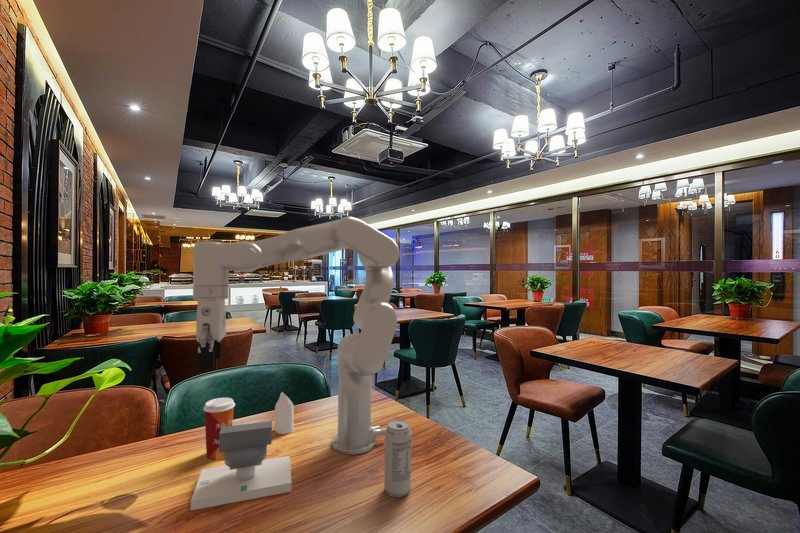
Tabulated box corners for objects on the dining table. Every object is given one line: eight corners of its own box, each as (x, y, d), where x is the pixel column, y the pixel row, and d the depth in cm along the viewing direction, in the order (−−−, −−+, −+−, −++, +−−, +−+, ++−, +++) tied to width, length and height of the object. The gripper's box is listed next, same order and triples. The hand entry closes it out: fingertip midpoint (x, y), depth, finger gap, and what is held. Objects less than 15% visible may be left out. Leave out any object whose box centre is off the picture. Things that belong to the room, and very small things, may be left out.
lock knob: (271, 444, 87) (272, 416, 87) (270, 463, 79) (271, 432, 79) (219, 451, 83) (220, 422, 83) (213, 472, 75) (213, 439, 75)
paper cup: (220, 463, 90) (222, 408, 90) (195, 459, 91) (196, 405, 91) (240, 448, 97) (241, 397, 98) (216, 444, 99) (217, 395, 99)
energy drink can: (404, 480, 84) (405, 417, 84) (414, 495, 78) (415, 428, 78) (381, 485, 82) (382, 421, 82) (389, 501, 76) (390, 432, 76)
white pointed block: (298, 391, 110) (284, 396, 105) (297, 429, 109) (283, 436, 105) (284, 387, 112) (270, 392, 108) (283, 424, 112) (269, 431, 107)
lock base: (289, 463, 90) (290, 440, 90) (291, 491, 79) (291, 464, 79) (202, 477, 83) (202, 452, 83) (190, 510, 72) (191, 481, 72)
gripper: (222, 295, 77) (221, 372, 77) (233, 290, 93) (232, 354, 93) (183, 295, 74) (182, 375, 74) (201, 290, 91) (201, 356, 91)
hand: (210, 363), depth 84 cm, fingers open, 9 cm apart
